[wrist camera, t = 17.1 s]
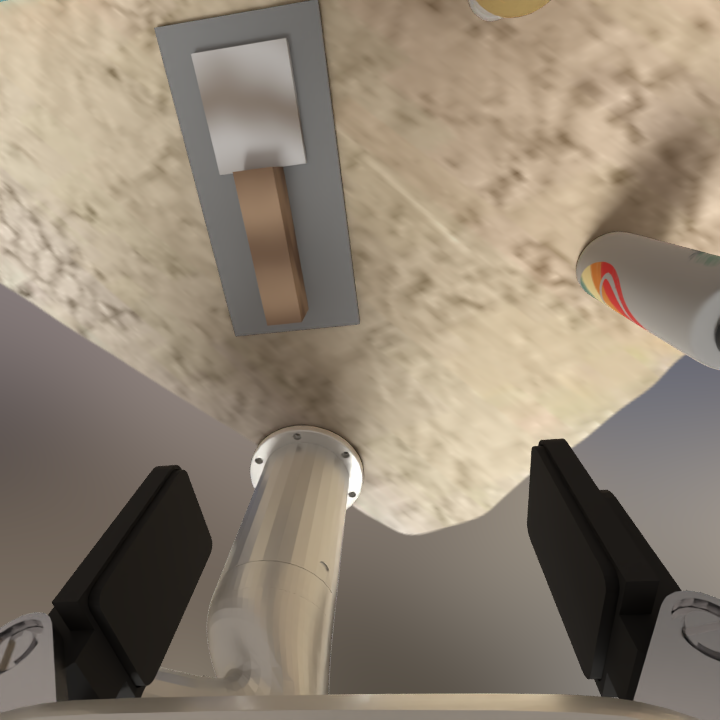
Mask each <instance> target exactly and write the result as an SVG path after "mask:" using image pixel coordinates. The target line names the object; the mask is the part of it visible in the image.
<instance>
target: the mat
mask: <svg viewBox="0 0 720 720" xmlns="http://www.w3.org/2000/svg"><path fill="white" fill-rule="evenodd" d="M154 29H155V33H156V37H157V41H158V44H159V48H160V52H161V56H162V59H163V63H164V67H165V71H166V75H167V78H168V82H169V86H170V90H171V94H172V97H173V101H174V105H175V109H176V113H177V116H178V120H179V124H180V128H181V131H182V135H183V139H184V143H185V147H186V150H187V154H188V158H189V162H190V166H191V169H192V173H193V177H194V181H195V184H196V188H197V192H198V196H199V200H200V203H201V207H202V211H203V215H204V219H205V222H206V226H207V230H208V234H209V238H210V241H211V245H212V249H213V253H214V256H215V260H216V264H217V268H218V272H219V275H220V279H221V283H222V287H223V291H224V294H225V298H226V302H227V306H228V309H229V313H230V317H231V321H232V325H233V328H234V332H235V336H245V335H255V334H265V333H275V332H285V331H296V330H306V329H316V328H326V327H336V326H346V325H357V324H360V319H359V312H358V304H357V296H356V288H355V281H354V273H353V265H352V257H351V249H350V242H349V234H348V226H347V218H346V211H345V203H344V195H343V187H342V180H341V172H340V164H339V156H338V148H337V141H336V133H335V125H334V117H333V110H332V102H331V94H330V86H329V79H328V71H327V63H326V55H325V48H324V40H323V32H322V24H321V16H320V9H319V2H318V0H310V1H305V2H299V3H293V4H287V5H282V6H276V7H270V8H265V9H259V10H253V11H248V12H242V13H236V14H230V15H225V16H219V17H213V18H208V19H202V20H196V21H191V22H185V23H179V24H174V25H168V26H162V27H156V28H154ZM283 38H286V39H287V40H288V42H289V49H290V55H291V61H292V68H293V74H294V81H295V87H296V93H297V100H298V106H299V112H300V119H301V125H302V131H303V138H304V144H305V151H306V157H307V163H306V164H299V165H291V166H284V167H283V169H284V174H285V180H286V185H287V191H288V197H289V202H290V208H291V213H292V219H293V224H294V230H295V236H296V241H297V247H298V252H299V258H300V263H301V269H302V274H303V280H304V286H305V291H306V297H307V302H308V308H309V310H308V311H307V313H306V315H305V317H304V319H303V321H302V322H300V323H290V324H280V325H270V326H267V322H266V318H265V313H264V309H263V304H262V300H261V296H260V291H259V287H258V282H257V278H256V274H255V269H254V265H253V260H252V256H251V251H250V247H249V243H248V238H247V234H246V229H245V225H244V221H243V216H242V212H241V207H240V203H239V199H238V194H237V190H236V185H235V181H234V177H233V174H226V175H220V173H219V169H218V165H217V161H216V157H215V153H214V148H213V144H212V140H211V136H210V132H209V127H208V123H207V119H206V115H205V111H204V106H203V102H202V98H201V94H200V90H199V86H198V81H197V77H196V73H195V69H194V65H193V60H192V56H191V54H193V53H199V52H205V51H211V50H217V49H223V48H229V47H235V46H241V45H247V44H253V43H259V42H265V41H271V40H277V39H283Z"/></svg>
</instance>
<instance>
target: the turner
mask: <svg viewBox="0 0 720 720" xmlns="http://www.w3.org/2000/svg"><path fill="white" fill-rule="evenodd" d="M191 56H192V60H193V65H194V69H195V73H196V77H197V81H198V86H199V90H200V94H201V98H202V102H203V106H204V111H205V115H206V119H207V123H208V127H209V132H210V136H211V140H212V144H213V148H214V153H215V157H216V161H217V165H218V169H219V173H220V175H226V174H233V177H234V181H235V185H236V190H237V194H238V199H239V203H240V207H241V212H242V216H243V221H244V225H245V229H246V234H247V238H248V243H249V247H250V251H251V256H252V260H253V265H254V269H255V274H256V278H257V282H258V287H259V291H260V296H261V300H262V304H263V309H264V313H265V318H266V322H267V326H270V325H280V324H290V323H300V322H302V321H303V319H304V317H305V315H306V313H307V311H308V310H309V308H308V302H307V297H306V291H305V286H304V280H303V274H302V269H301V263H300V258H299V252H298V247H297V241H296V236H295V230H294V224H293V219H292V213H291V208H290V202H289V197H288V191H287V185H286V180H285V174H284V169H283V167H284V166H291V165H299V164H306V163H307V157H306V151H305V144H304V138H303V131H302V125H301V119H300V112H299V106H298V100H297V93H296V87H295V81H294V74H293V68H292V61H291V55H290V49H289V42H288V40H287V39H286V38H283V39H277V40H271V41H265V42H259V43H253V44H247V45H241V46H235V47H229V48H223V49H217V50H211V51H205V52H199V53H193V54H191Z"/></svg>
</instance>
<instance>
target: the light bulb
mask: <svg viewBox="0 0 720 720" xmlns="http://www.w3.org/2000/svg"><path fill="white" fill-rule="evenodd" d="M549 1H550V0H468V2H469V5H470V7H471V9H472V11H473V12H474V13H475V14H476V15H477V16H478V17H479V18H481V19H483V20H486V21H496V20H499V19H502V18H504V17H506V18H513V17H521V16H524V15H527V14H531V13H532V12H534V11H536V10H538V9H540V8H541V7H543V6H544V5H546V4H547V3H548V2H549Z"/></svg>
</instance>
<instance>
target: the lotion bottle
mask: <svg viewBox="0 0 720 720" xmlns="http://www.w3.org/2000/svg"><path fill="white" fill-rule="evenodd" d="M576 275H577V280H578V282H579V284H580V286H581V287H582V288H583V290H584V291H586V292H587V293H588V294H589V295H591V296H592V297H594V298H595V299H597V300H598V301H600V302H602V303H603V304H605V305H607V306H608V307H610V308H611V309H613V310H615V311H616V312H618V313H620V314H621V315H623V316H624V317H626V318H628V319H629V320H631V321H632V322H634V323H636V324H637V325H639V326H641V327H642V328H644V329H645V330H647V331H649V332H650V333H652V334H654V335H655V336H657V337H658V338H660V339H662V340H663V341H665V342H667V343H668V344H670V345H671V346H673V347H675V348H676V349H678V350H679V351H681V352H683V353H684V354H686V355H688V356H690V357H691V358H693V359H695V360H696V361H698V362H700V363H702V364H703V365H705V366H708V367H711V368H714V369H717V370H720V256H716V255H712V254H709V253H705V252H701V251H697V250H693V249H690V248H686V247H682V246H678V245H675V244H671V243H667V242H663V241H659V240H656V239H652V238H648V237H644V236H640V235H636V234H632V233H627V232H612V233H607V234H604V235H602V236H600V237H598V238H596V239H595V240H593V241H592V242H591V243H590V244H589V245H588V246H587V247H586V248H585V249H584V251H583V252H582V254H581V255H580V257H579V260H578V263H577V268H576Z"/></svg>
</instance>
